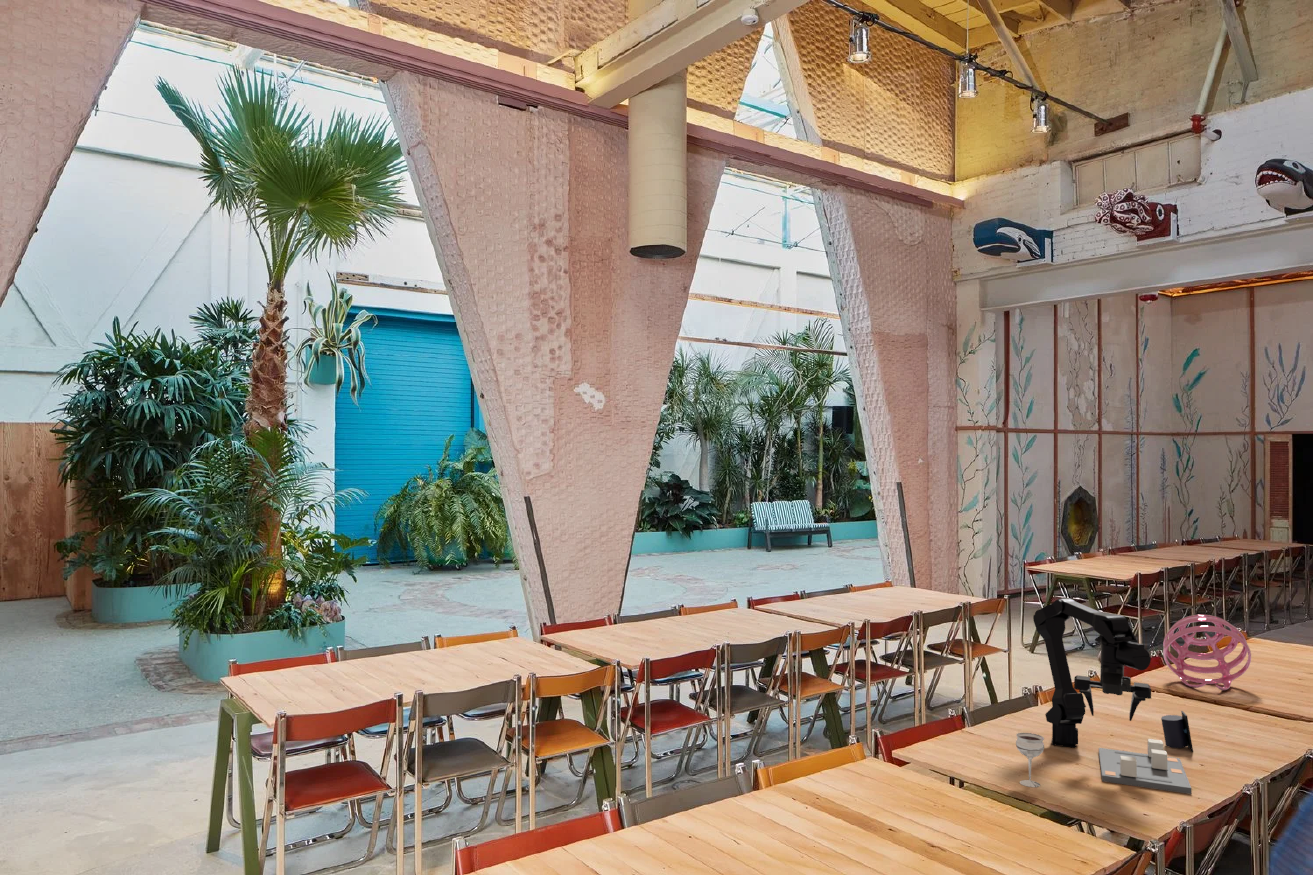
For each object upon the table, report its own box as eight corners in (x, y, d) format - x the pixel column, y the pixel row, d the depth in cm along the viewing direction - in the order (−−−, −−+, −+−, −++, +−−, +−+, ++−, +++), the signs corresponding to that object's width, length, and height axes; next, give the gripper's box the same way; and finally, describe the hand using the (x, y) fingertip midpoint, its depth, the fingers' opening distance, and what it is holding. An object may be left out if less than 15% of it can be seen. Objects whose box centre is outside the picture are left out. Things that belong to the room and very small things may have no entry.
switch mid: (1152, 767, 235) (1152, 752, 235) (1151, 763, 238) (1151, 748, 238) (1167, 769, 233) (1167, 754, 233) (1166, 765, 236) (1165, 750, 237)
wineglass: (1031, 789, 223) (1031, 741, 223) (1009, 781, 229) (1010, 734, 229) (1050, 785, 226) (1050, 738, 226) (1028, 777, 232) (1028, 731, 233)
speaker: (1196, 746, 259) (1191, 710, 260) (1193, 752, 255) (1188, 715, 255) (1167, 743, 264) (1162, 708, 264) (1163, 749, 259) (1158, 713, 260)
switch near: (1121, 775, 229) (1121, 759, 229) (1120, 770, 232) (1120, 755, 232) (1136, 777, 227) (1136, 761, 228) (1135, 772, 231) (1135, 757, 231)
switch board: (1102, 781, 230) (1102, 774, 230) (1098, 752, 253) (1098, 747, 253) (1191, 793, 222) (1191, 787, 222) (1179, 763, 244) (1179, 757, 244)
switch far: (1148, 756, 244) (1148, 741, 244) (1147, 752, 247) (1147, 738, 247) (1163, 758, 242) (1163, 743, 243) (1162, 754, 246) (1162, 740, 246)
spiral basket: (1247, 647, 308) (1234, 594, 329) (1158, 656, 323) (1150, 605, 344) (1265, 703, 318) (1251, 649, 339) (1178, 710, 333) (1169, 657, 354)
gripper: (1074, 663, 240) (1073, 720, 240) (1153, 672, 232) (1152, 731, 232) (1074, 654, 250) (1074, 709, 250) (1150, 663, 242) (1149, 720, 242)
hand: (1111, 717), depth 244 cm, fingers open, 9 cm apart
